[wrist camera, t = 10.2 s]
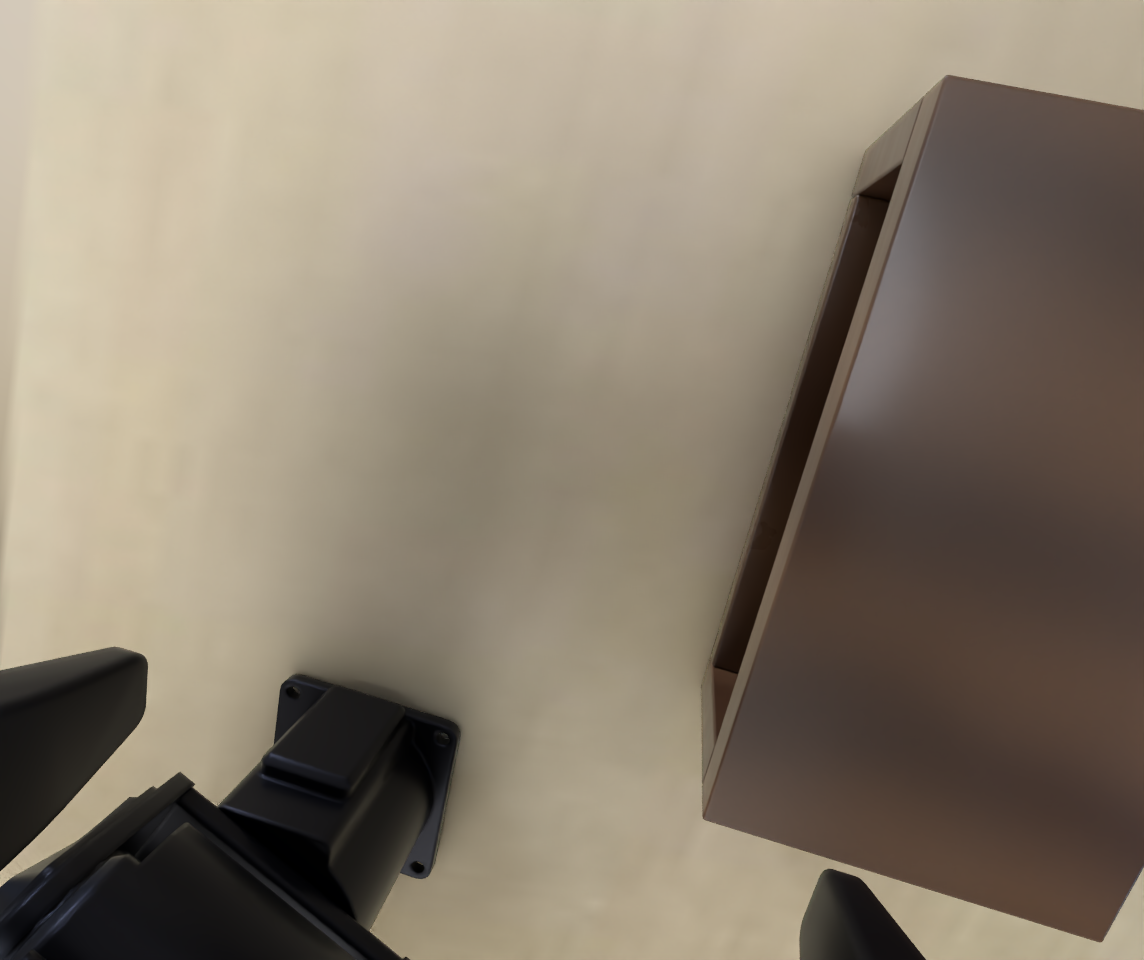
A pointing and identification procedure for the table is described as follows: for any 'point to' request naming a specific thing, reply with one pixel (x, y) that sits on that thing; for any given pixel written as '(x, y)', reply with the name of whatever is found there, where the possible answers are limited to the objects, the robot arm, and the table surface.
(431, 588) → the table surface
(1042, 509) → the shelf
